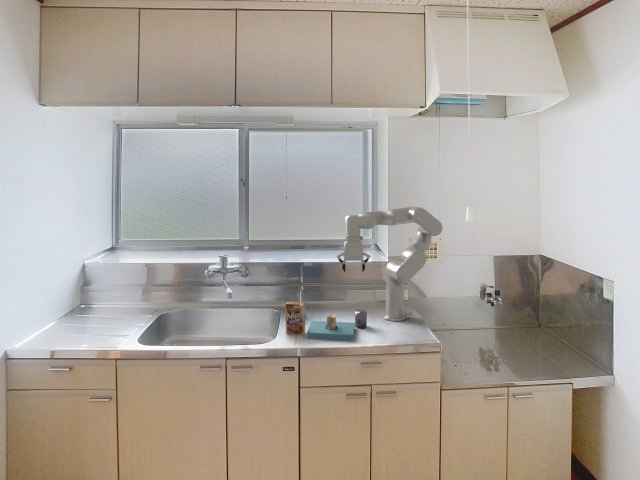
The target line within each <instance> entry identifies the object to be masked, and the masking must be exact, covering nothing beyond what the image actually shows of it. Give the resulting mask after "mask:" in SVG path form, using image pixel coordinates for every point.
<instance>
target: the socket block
mask: <svg viewBox="0 0 640 480" xmlns="http://www.w3.org/2000/svg"><path fill="white" fill-rule="evenodd" d="M355 328H356V327H355V322H347V321H346V322H345V321H336V330H330V329H327V320H326V321H325V320H324V321H323V320H311V322H310V325H309V326H308V329H307V331H306V339H310V340H325V341H326V340H327V341H344V342H345V341H347V342H354V337H355Z"/></svg>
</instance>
